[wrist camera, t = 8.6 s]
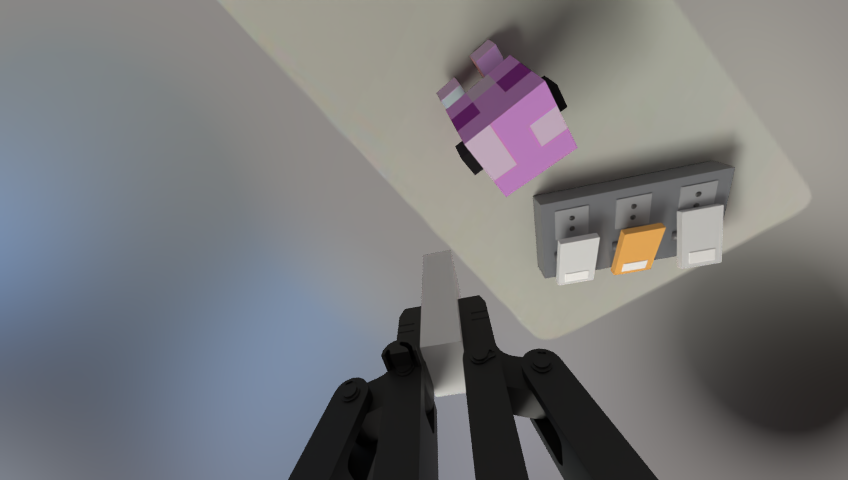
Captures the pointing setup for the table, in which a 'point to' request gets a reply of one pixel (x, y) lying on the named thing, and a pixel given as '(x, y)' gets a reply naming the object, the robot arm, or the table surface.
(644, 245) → the plate
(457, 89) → the toy
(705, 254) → the rocker
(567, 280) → the rocker
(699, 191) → the power strip
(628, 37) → the table surface
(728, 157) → the table surface
